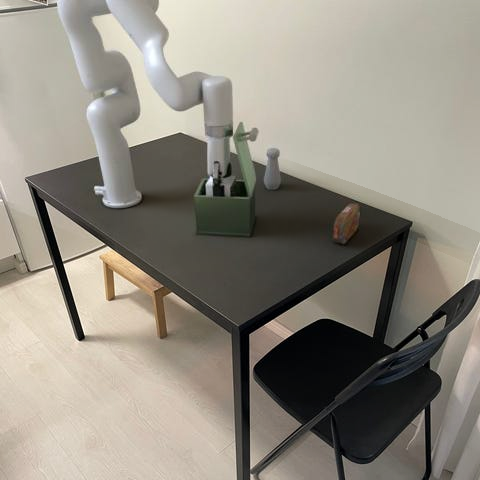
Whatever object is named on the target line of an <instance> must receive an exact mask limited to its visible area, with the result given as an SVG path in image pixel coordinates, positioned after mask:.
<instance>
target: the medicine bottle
mask: <svg viewBox="0 0 480 480" xmlns="http://www.w3.org/2000/svg"><path fill="white" fill-rule="evenodd" d="M219 167H220V166H219ZM232 171H233V170H232V164H231V162H230V163H229V164H228V166H227V172H226V175H225V176H224V177H223V185H224V192H225V196H227V197H236V180H237V177H236V175H233V174H232V173H233V172H232ZM219 174H222V172H219ZM208 179H209V180H208V182H207V183H206V196H213V187H212V185H213V173H212V175H210V176H209V178H208ZM219 179H220V181H221V177H219Z"/></svg>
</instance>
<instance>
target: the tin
mask: <svg viewBox="0 0 480 480" xmlns="http://www.w3.org/2000/svg"><path fill="white" fill-rule="evenodd" d="M346 205H347V206H345V207H344V208H343V209H342V210H341V211H340V212H339V214H338V215H337V216H336V218H335V221H334V223H333V233H332V240H333V241H334V242H335V243H337V244H341V245H345V244H346V243H347V242H348V241H349V240H350V238H352V236H353V235H354V234H355V233H356V232H357V230H358V228H359V225H360V221H361V216H362V206H361V204H360V203H355V202H353V203H352V202H350V203H348V204H346Z"/></svg>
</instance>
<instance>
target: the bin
mask: <svg viewBox="0 0 480 480" xmlns="http://www.w3.org/2000/svg"><path fill="white" fill-rule="evenodd" d="M208 180H209V178H205V177H204V178H202V179H201V181H200V183H199V185H198V187H197V189H196V191H195V193H194V195H193V202H194V203H193V204H194V215H195V226H196V234H197V235H206V236H207V235H208V236H225V237H226V236H227V237H242V238H243V237H245V238H251V236H252V231H253V227H254V225H255V224H254V223H255V220H256V184H255V185H254V189H253V192H252V196H251V197H248V193H247V190H246V186H245V182H244V179H236V197H227V196H206V183H207V182H208Z"/></svg>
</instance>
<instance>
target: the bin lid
mask: <svg viewBox="0 0 480 480" xmlns="http://www.w3.org/2000/svg"><path fill="white" fill-rule="evenodd" d="M259 132H260V131H259V129H258V128H257V127H252V128H251V130H249V131H245V127H244V122H243V121H239V123H238V124H237V126H236V129H235V132H234V133H233V136H232V141H233V143H234V147H235V151H236V155H237V159H238V162H239V167H240V170H241V175H242V178H243V180H244V182H245V186H246V190H247V193H248V197H251V196H252V192H253V189H254V185H255V186H256V182H257V175H256V170H255V167H254V163H253V159H252V155H251V151H250V147H249V144H248V141H250V142H252V143H253V142H256V140H257V138H258V136H259Z"/></svg>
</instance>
